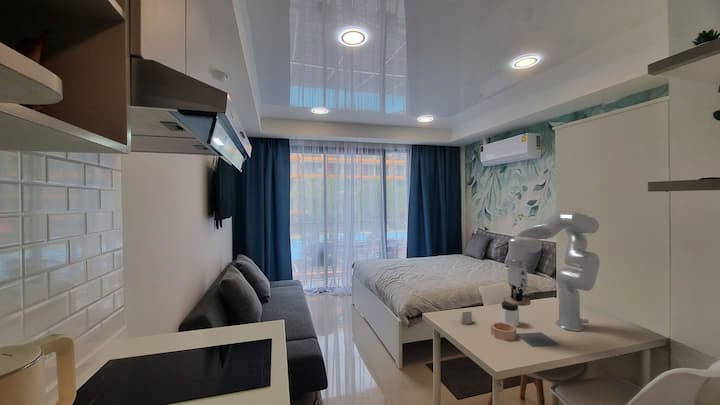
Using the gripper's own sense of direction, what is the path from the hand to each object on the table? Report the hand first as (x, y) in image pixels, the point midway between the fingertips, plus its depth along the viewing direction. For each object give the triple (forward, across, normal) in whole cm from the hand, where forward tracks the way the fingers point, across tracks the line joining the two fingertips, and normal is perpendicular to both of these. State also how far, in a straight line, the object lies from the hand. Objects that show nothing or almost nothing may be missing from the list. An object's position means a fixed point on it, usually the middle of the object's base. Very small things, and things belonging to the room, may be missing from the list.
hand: (516, 299), depth 155 cm
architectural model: (+21, +22, +16) cm, 34 cm away
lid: (+1, 0, 0) cm, 1 cm away
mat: (+20, -3, -9) cm, 22 cm away
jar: (+20, +16, -6) cm, 26 cm away
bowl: (+20, +3, +5) cm, 21 cm away
